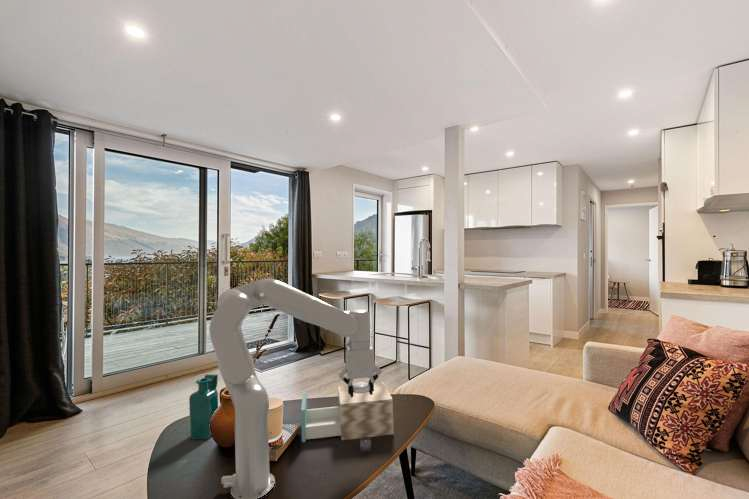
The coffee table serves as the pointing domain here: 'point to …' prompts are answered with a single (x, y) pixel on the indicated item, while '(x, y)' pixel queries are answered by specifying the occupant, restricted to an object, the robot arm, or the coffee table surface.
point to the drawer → (319, 421)
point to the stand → (365, 444)
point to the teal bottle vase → (203, 407)
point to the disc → (361, 387)
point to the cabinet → (366, 413)
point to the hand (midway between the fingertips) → (361, 394)
